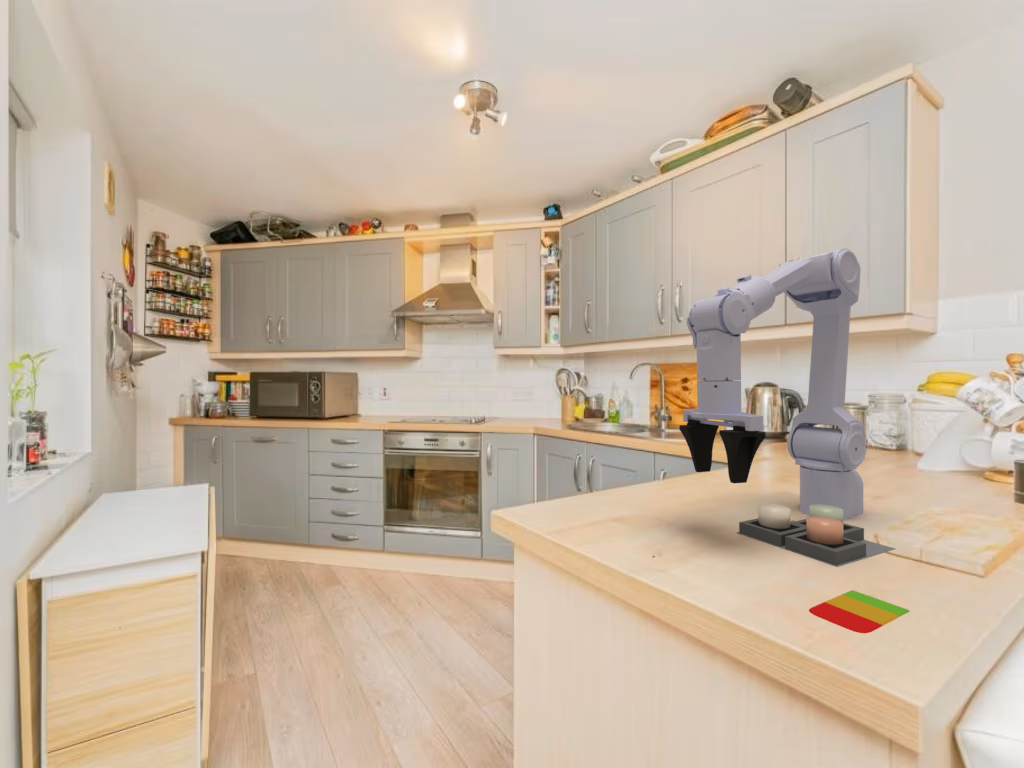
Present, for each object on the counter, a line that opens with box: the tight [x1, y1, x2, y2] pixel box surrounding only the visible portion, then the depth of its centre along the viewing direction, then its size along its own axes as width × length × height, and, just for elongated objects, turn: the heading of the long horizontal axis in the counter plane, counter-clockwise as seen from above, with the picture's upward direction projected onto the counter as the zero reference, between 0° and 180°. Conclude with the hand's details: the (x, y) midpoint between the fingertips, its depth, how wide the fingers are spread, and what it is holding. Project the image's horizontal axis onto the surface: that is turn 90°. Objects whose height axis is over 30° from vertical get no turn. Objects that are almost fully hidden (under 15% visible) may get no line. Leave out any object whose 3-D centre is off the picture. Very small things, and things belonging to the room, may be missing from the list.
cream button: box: [757, 503, 791, 529], centre depth 67 cm, size 4×4×2 cm
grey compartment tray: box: [736, 517, 896, 568], centre depth 65 cm, size 13×14×3 cm
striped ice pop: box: [808, 589, 911, 634], centre depth 47 cm, size 6×15×2 cm, turn 119°
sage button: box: [809, 504, 844, 523], centre depth 67 cm, size 4×4×2 cm
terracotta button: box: [805, 516, 844, 545], centre depth 61 cm, size 4×4×2 cm
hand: (719, 476), depth 66 cm, fingers open, 7 cm apart
